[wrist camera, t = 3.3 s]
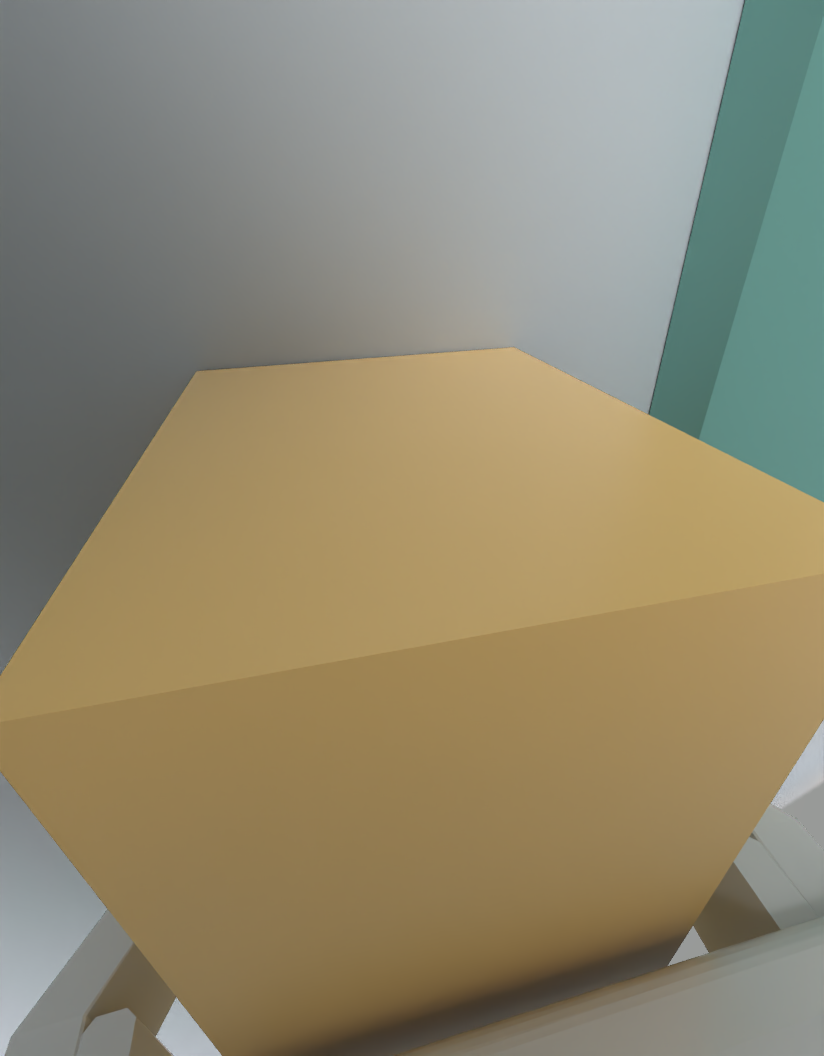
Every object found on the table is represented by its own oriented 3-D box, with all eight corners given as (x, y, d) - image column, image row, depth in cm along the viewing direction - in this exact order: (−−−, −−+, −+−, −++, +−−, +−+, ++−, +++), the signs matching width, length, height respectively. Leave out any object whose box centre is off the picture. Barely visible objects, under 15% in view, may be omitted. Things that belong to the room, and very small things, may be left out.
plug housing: (196, 370, 8) (-33, 726, 2) (513, 347, 9) (927, 555, 3) (307, 817, 15) (321, 1183, 9) (479, 777, 16) (590, 1087, 10)
